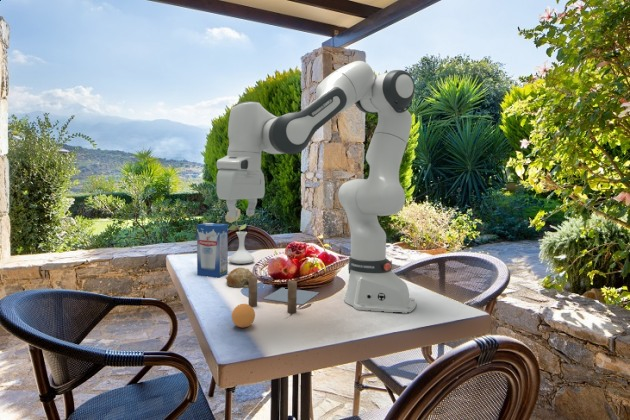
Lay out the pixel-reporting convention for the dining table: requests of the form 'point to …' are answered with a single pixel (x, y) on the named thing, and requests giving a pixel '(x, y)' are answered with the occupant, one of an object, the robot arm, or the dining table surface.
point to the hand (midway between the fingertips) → (241, 216)
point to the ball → (243, 315)
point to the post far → (253, 291)
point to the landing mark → (282, 296)
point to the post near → (292, 296)
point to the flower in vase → (241, 254)
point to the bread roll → (239, 278)
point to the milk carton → (212, 250)
